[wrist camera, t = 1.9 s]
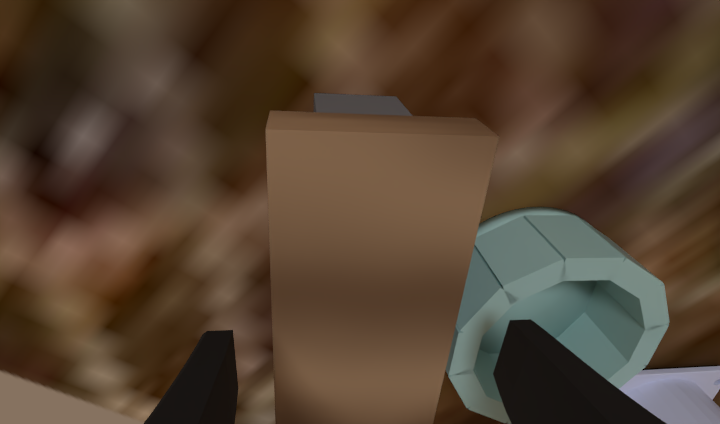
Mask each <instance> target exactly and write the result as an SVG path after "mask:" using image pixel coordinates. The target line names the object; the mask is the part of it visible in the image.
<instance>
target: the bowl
mask: <svg viewBox="0 0 720 424" xmlns="http://www.w3.org/2000/svg"><path fill="white" fill-rule="evenodd" d="M528 319H531V320H532V321H534V322H535V323H536V324H538V325H539V326H540V327H542V328H543V329H544V330H545V331H547V332H548V333H549V334H550V335H552V336H553V337H554V338H555V339H557V340H558V341H559V342H560V343H561V344H563V345H564V346H565V347H566V348H568V349H569V350H570V351H571V352H573V353H574V354H575V355H576V356H577V357H579V358H580V359H581V360H582V361H584V362H585V363H586V364H587V365H589V366H590V367H591V368H592V369H594V370H595V371H596V372H597V373H599V374H600V375H601V376H602V377H604V378H605V379H606V380H608V381H609V382H610V383H611V384H613V385H614V386H615V387H617V388H618V389H619V388H621V387H622V386H623V385H624V384H626V383H627V382H628V381H629V380H630V379H632V378H633V377H634V376H635V375H636V374H638V373H639V372H640V371H641V370H643V369H644V368H645V367H646V366H645V365H648V363H649V361H650V359H651V357H652V356H653V354H654V352H655V350H656V348H657V346H658V344H659V343H660V341H661V339H662V337H663V335H664V333H665V331H666V330H667V328H668V326H669V324H668V323H669V316H668V309H667V302H666V294H665V287H664V284H663V282H662V281H660V280H659V279H658V278H657V277H656V276H654V275H653V274H652V273H651V272H649V271H648V270H647V269H646V268H645V267H643V266H642V265H641V264H640V263H639V262H637V261H636V260H635V259H634V258H632V257H631V256H630V255H629V254H628V253H626V252H625V251H624V250H623V249H622V248H620V247H619V246H618V245H617V244H615V243H614V242H613V241H612V240H611V239H609V238H608V237H606V236H605V235H603V234H602V233H601V232H599V231H598V230H596V229H595V228H593V227H592V226H591V225H590V224H589V223H587V222H586V221H585V220H584V219H582V218H581V217H579V216H577V215H575V214H573V213H571V212H568V211H565V210H562V209H557V208H552V207H527V208H521V209H515V210H512V211H508V212H505V213H501V214H499V215H497V216H494V217H492V218H489V219H487V220H485V221H484V222H482V223H480V224H479V227H478V231H477V236H476V240H475V244H474V249H473V253H472V257H471V262H470V266H469V270H468V275H467V279H466V283H465V288H464V292H463V296H462V301H461V305H460V309H459V314H458V318H457V322H456V327H455V331H454V335H453V340H452V344H451V348H450V353H449V357H448V361H447V366H446V371H447V374H448V377H449V378H450V380H451V382H452V384H453V385H454V387H455V389H456V391H457V392H458V394H459V396H460V398H461V399H462V401H463V403H464V405H465V406H466V408H468V409H469V410H471V411H474V412H476V413H479V414H482V415H484V416H487V417H489V418H492V419H495V420H497V421H500V422H503V423H506V422H507V424H511V421H510V419H509V417H508V415H507V413H506V410H505V408H504V405H503V402H502V399H501V397H500V394H499V391H498V388H497V385H496V382H495V379H494V375H493V372H494V369H495V366H496V363H497V360H498V356H499V353H500V350H501V347H502V343H503V340H504V337H505V334H506V330H507V327H508V324H509V321H510V320H528Z"/></svg>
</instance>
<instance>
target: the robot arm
mask: <svg viewBox="0 0 720 424" xmlns="http://www.w3.org/2000/svg"><path fill="white" fill-rule="evenodd" d="M493 375H494V379H495V382H496V385H497V388H498V391H499V394H500V397H501V399H502V402H503V405H504V408H505V410H506V413H507V415H508V417H509V419H510V421H511V424H720V407H719V406H718V405H717V404H716V403H715V402H714V401H713V398H714V397H715V395H716V394H717V392H718V391H719V389H720V366H708V367H690V368H671V369H653V370H641V371H640V372H639V373H638V374H636V375H635V376H634V377H633V378H632V379H630V380H629V381H628V382H627V383H626V384H624V385H623V386H622V387H621V388H619V389H618V388H617V387H615V386H614V385H613V384H611V383H610V382H609V381H608V380H606V379H605V378H604V377H602V376H601V375H600V374H599V373H597V372H596V371H595V370H594V369H592V368H591V367H590V366H589V365H587V364H586V363H585V362H584V361H582V360H581V359H580V358H579V357H577V356H576V355H575V354H574V353H573V352H571V351H570V350H569V349H568V348H566V347H565V346H564V345H563V344H561V343H560V342H559V341H558V340H557V339H555V338H554V337H553V336H552V335H550V334H549V333H548V332H547V331H545V330H544V329H543V328H542V327H540V326H539V325H538V324H536V323H535V322H534V321H532V320H531V319H528V320H510V321H509V324H508V327H507V330H506V334H505V337H504V340H503V343H502V347H501V350H500V353H499V356H498V360H497V363H496V366H495V369H494V372H493ZM237 395H238V381H237V370H236V360H235V349H234V338H233V330H226V331H207V332H205V333H204V334H203V335H202V337H201V338H200V340H199V342H198V344H197V346H196V347H195V349H194V351H193V352H192V354H191V356H190V357H189V359H188V360H187V362H186V364H185V365H184V367H183V368H182V370H181V371H180V373H179V374H178V376H177V378H176V379H175V381H174V382H173V383H172V385H171V386H170V388H169V389H168V391H167V392H166V393H165V395H164V396H163V398H162V399H161V401H160V402H159V404H158V405H157V406H156V408H155V409H154V411H153V412H152V413H151V415H150V416H149V417H148V419H147V420H146V421H145V422H144V424H234V423H235V414H236V404H237Z"/></svg>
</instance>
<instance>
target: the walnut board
mask: <svg viewBox="0 0 720 424" xmlns="http://www.w3.org/2000/svg"><path fill="white" fill-rule="evenodd" d="M498 140H499V136H498V135H497V134H495V133H494V132H493V131H491V130H490V129H489V128H487V127H486V126H485V125H483V124H482V123H481V122H480V121H478V120H477V119H476V118H455V117H428V116H401V115H375V114H348V113H321V112H295V111H270V113H269V117H268V121H267V126H266V156H267V185H268V215H269V244H270V273H271V302H272V331H273V360H274V389H275V419H276V424H433V422H434V418H435V413H436V409H437V405H438V400H439V396H440V392H441V387H442V383H443V379H444V374H445V370H446V366H447V361H448V357H449V353H450V348H451V344H452V340H453V335H454V331H455V327H456V322H457V318H458V314H459V309H460V305H461V301H462V296H463V292H464V288H465V283H466V279H467V275H468V270H469V266H470V262H471V257H472V253H473V249H474V244H475V240H476V236H477V231H478V227H479V223H480V218H481V214H482V210H483V205H484V201H485V197H486V192H487V188H488V184H489V179H490V175H491V171H492V166H493V162H494V158H495V153H496V149H497V145H498Z"/></svg>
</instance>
